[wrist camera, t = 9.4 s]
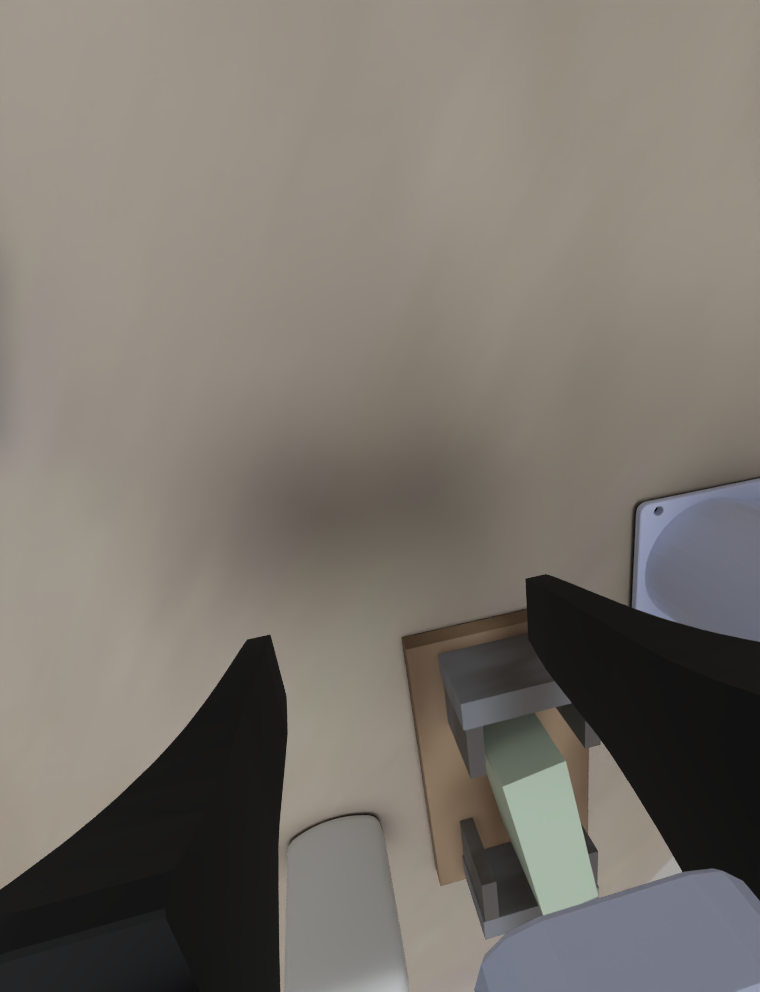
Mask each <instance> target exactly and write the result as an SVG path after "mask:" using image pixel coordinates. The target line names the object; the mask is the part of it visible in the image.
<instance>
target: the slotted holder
mask: <svg viewBox="0 0 760 992" xmlns="http://www.w3.org/2000/svg"><path fill="white" fill-rule="evenodd" d="M402 644H403V650H404V657H405V664H406V671H407V677H408V684H409V691H410V697H411V704H412V711H413V717H414V724H415V731H416V737H417V744H418V751H419V757H420V764H421V771H422V778H423V784H424V791H425V798H426V804H427V811H428V818H429V824H430V831H431V838H432V844H433V851H434V858H435V864H436V870H437V874H438V878H439V882H440V885H441V886H443V885H446V884H450V883H453V882H457V881H460V880H463V879H467V882H468V886H469V889H470V892H471V895H472V898H473V902H474V905H475V908H476V911H477V914H478V917H479V921H480V924H481V927H482V930H483V933H484V936H485V940H486V939H489V938H492V937H496V936H499V935H502V934H505V933H507V932H509V931H511V930H513V929H515V928H517V927H519V926H521V925H523V924H525V923H527V922H529V921H531V920H533V919H535V918H537V917H540V916H543V915H542V912H541V910H540V908H539V905H538V903H537V901H536V898H535V896H534V894H533V891H532V889H531V887H530V884H529V882H528V880H527V878H526V875H525V873H524V871H523V868H522V866H521V864H520V861H519V859H518V857H517V854H516V852H515V850H514V847H513V845H512V843H511V840H510V838H509V836H508V833H507V831H506V829H505V826H504V824H503V821H502V818H501V815H500V812H499V809H498V806H497V803H496V800H495V797H494V794H493V791H492V788H491V785H490V782H489V779H488V776H487V769H486V758H485V746H484V735H483V726H484V725H488V724H492V723H496V722H500V721H504V720H508V719H512V718H516V717H520V716H523V715H527V714H531V713H535V714H536V716H537V717H538V719H539V720H540V722H541V723H542V725H543V727H544V728H545V730H546V731H547V733H548V734H549V736H550V737H551V739H552V740H553V742H554V743H555V745H556V747H557V748H558V750H559V751H560V753H561V754H562V756H563V757H564V759H565V760H566V764H567V768H568V772H569V776H570V780H571V785H572V789H573V793H574V797H575V801H576V805H577V810H578V814H579V818H580V822H581V826H582V830H583V834H584V839H585V843H586V847H587V851H588V855H589V859H590V864H591V868H592V872H593V876H594V880H595V884H596V889H597V893H598V897H596V898H593V899H591V900H589V901H592V900H595V899H598V898H599V887H598V885H597V872H598V851H597V849H596V847H595V846H594V844H593V842H592V840H591V839H590V837H589V835H588V769H589V748H590V747H593V746H597V745H600V738H599V737H598V736H597V734H596V733H595V732H594V731H593V729H592V728H591V727H590V726H589V724H588V723H587V722H586V720H585V719H584V718H583V717H582V715H581V714H580V713H579V712H578V710H577V709H576V708H575V706H574V705H573V704H572V703H571V701H570V700H569V699H568V698H567V696H566V695H565V694H564V693H563V691H562V690H561V689H560V687H559V686H558V685H557V683H556V682H555V681H554V680H553V678H552V677H551V676H550V674H549V673H548V672H547V670H546V669H545V667H544V666H543V664H542V662H541V661H540V659H539V657H538V656H537V654H536V652H535V650H534V649H533V647H532V645H531V643H530V642H529V640H528V622H527V610H522V611H518V612H513V613H509V614H505V615H500V616H496V617H491V618H487V619H483V620H478V621H474V622H469V623H465V624H461V625H456V626H452V627H447V628H443V629H439V630H434V631H430V632H425V633H421V634H417V635H412V636H408V637H403V638H402ZM586 902H588V901H586ZM584 903H585V902H584Z"/></svg>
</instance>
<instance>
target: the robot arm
mask: <svg viewBox="0 0 760 992" xmlns="http://www.w3.org/2000/svg"><path fill="white" fill-rule="evenodd" d="M656 507H658V508H657V511H656V512H655V513H654V510H655V509H656ZM526 598H527V622H528V640H529V642H530V643H531V645H532V647H533V649H534V650H535V652H536V654H537V656H538V657H539V659H540V661H541V662H542V664H543V666H544V667H545V669H546V670H547V672H548V673H549V674H550V676H551V677H552V678H553V680H554V681H555V682H556V683H557V685H558V686H559V687H560V689H561V690H562V691H563V693H564V694H565V695H566V696H567V698H568V699H569V700H570V701H571V703H572V704H573V705H574V706H575V708H576V709H577V710H578V712H579V713H580V714H581V715H582V717H583V718H584V719H585V720H586V722H587V723H588V724H589V726H590V727H591V728H592V729H593V731H594V732H595V733H596V734H597V736H598V737H599V738H600V740H601V741H602V742H603V744H604V745H605V747H606V748H607V749H608V751H609V752H610V754H611V755H612V757H613V758H614V760H615V761H616V763H617V764H618V766H619V767H620V769H621V771H622V772H623V774H624V775H625V777H626V778H627V780H628V781H629V783H630V785H631V786H632V788H633V789H634V791H635V793H636V794H637V796H638V797H639V799H640V801H641V802H642V804H643V806H644V807H645V809H646V811H647V812H648V814H649V815H650V817H651V819H652V820H653V822H654V824H655V825H656V827H657V829H658V830H659V832H660V834H661V835H662V837H663V839H664V841H665V842H666V844H667V846H668V847H669V849H670V851H671V853H672V854H673V856H674V858H675V860H676V861H677V863H678V865H679V866H680V868H681V870H682V873H679V874H676V875H673V876H669V877H666V878H663V879H659V880H656V881H653V882H650V883H647V884H643V885H640V886H637V887H634V888H630V889H627V890H624V891H621V892H617V893H614V894H611V895H608V896H605V897H601V898H598V899H595V900H592V901H588V902H585V903H582V904H579V905H576V906H572V907H569V908H566V909H563V910H559V911H556V912H553V913H550V914H547V915H543V916H540V917H537V918H535V919H533V920H531V921H529V922H527V923H525V924H523V925H521V926H519V927H517V928H515V929H513V930H511V931H509V932H507V933H506V934H505V935H504V936H503V937H502V938H501V939H500V940H499V941H498V942H497V943H496V944H495V945H494V946H493V947H492V948H491V949H490V950H489V951H488V952H487V953H486V954H485V956H484V959H483V961H482V964H481V967H480V971H479V974H478V978H477V982H476V985H475V989H474V990H475V992H760V478H758V479H753V480H749V481H744V482H739V483H734V484H729V485H724V486H719V487H714V488H710V489H705V490H700V491H695V492H690V493H685V494H680V495H676V496H671V497H666V498H661V499H656V500H651V501H646V502H643V503H642V504H640V505H639V507H638V508H637V511H636V527H635V549H634V570H633V592H632V608H631V607H629V606H626V605H623V604H621V603H618V602H615V601H613V600H610V599H608V598H605V597H603V596H600V595H598V594H595V593H593V592H590V591H588V590H586V589H583V588H581V587H578V586H576V585H573V584H571V583H569V582H566V581H564V580H561V579H558V578H556V577H553V576H550V575H547V574H545V575H540V576H536V577H531V578H527V579H526ZM286 745H287V699H286V693H285V689H284V685H283V681H282V678H281V674H280V670H279V666H278V662H277V658H276V655H275V651H274V647H273V643H272V639H271V635H267V636H262V637H257V638H253V639H248V640H247V641H246V642H245V644H244V645H243V646H242V648H241V649H240V651H239V652H238V654H237V656H236V657H235V659H234V660H233V662H232V663H231V665H230V666H229V668H228V669H227V671H226V672H225V674H224V676H223V677H222V678H221V680H220V681H219V683H218V684H217V686H216V687H215V689H214V690H213V691H212V693H211V694H210V696H209V697H208V699H207V700H206V701H205V703H204V704H203V705H202V707H201V708H200V709H199V710H198V712H197V713H196V714H195V716H194V717H193V718H192V720H191V721H190V722H189V723H188V725H187V726H186V727H185V728H184V730H183V731H182V732H181V733H180V734H179V735H178V737H177V738H176V739H175V740H174V741H173V742H172V743H171V744H170V745H169V747H168V748H167V749H166V750H165V751H164V752H163V753H162V754H161V755H160V756H159V757H158V759H157V760H156V761H155V762H154V763H153V764H152V765H151V766H150V767H149V768H148V769H147V770H146V771H144V772H143V773H142V774H141V775H140V776H139V777H138V778H137V779H136V780H135V781H134V782H133V783H132V784H131V785H130V786H129V787H128V788H127V789H126V790H125V791H124V792H123V793H122V794H121V795H120V796H118V797H117V798H116V799H115V800H114V801H113V802H112V803H111V804H110V805H108V806H107V807H106V808H105V809H104V810H103V811H101V812H100V813H99V814H98V815H97V816H96V817H95V818H93V819H92V820H91V821H90V822H89V823H87V824H86V825H85V826H84V827H82V828H81V829H80V830H79V831H78V832H76V833H75V834H74V835H73V836H72V837H70V838H69V839H68V840H66V841H65V842H64V843H63V844H61V845H60V846H59V847H58V848H56V849H55V850H54V851H52V852H51V853H50V854H48V855H47V856H46V857H44V858H43V859H41V860H40V861H39V862H37V863H36V864H35V865H33V866H32V867H31V868H29V869H28V870H27V871H25V872H24V873H23V874H21V875H20V876H19V877H17V878H16V879H15V880H13V881H12V882H11V883H9V884H8V885H6V886H5V887H3V888H2V889H1V890H0V992H280V962H279V896H278V842H279V823H280V812H281V801H282V790H283V779H284V768H285V757H286Z"/></svg>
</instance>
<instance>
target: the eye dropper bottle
mask: <svg viewBox="0 0 760 992" xmlns="http://www.w3.org/2000/svg"><path fill="white" fill-rule="evenodd" d="M284 992H409V981H408V974H407V967H406V961H405V954H404V948H403V942H402V936H401V931H400V925H399V919H398V913H397V907H396V901H395V895H394V890H393V884H392V878H391V872H390V867H389V861H388V855H387V849H386V844H385V839H384V835H383V831H382V828H381V825H380V823H379V821H378V820H377V819H376V818H375V817H373V816H370V815H355V816H347V817H341V818H337V819H333V820H329V821H327V822H324V823H321V824H319V825H317V826H315V827H313V828H311V829H309V830H307V831H305V832H304V833H302V834H301V835H299V836H298V837H296V838H295V839H294V840H293V841H292V842H291V844H290V845H289V847H288V854H287V886H286V928H285V975H284Z"/></svg>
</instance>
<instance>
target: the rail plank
mask: <svg viewBox="0 0 760 992" xmlns="http://www.w3.org/2000/svg"><path fill="white" fill-rule="evenodd" d="M483 735H484V746H485V758H486V769H487V776H488V779H489V782H490V785H491V788H492V791H493V794H494V797H495V800H496V803H497V806H498V809H499V812H500V815H501V818H502V821H503V824H504V826H505V829H506V831H507V833H508V836H509V838H510V840H511V843H512V845H513V847H514V850H515V852H516V854H517V857H518V859H519V861H520V864H521V866H522V868H523V871H524V873H525V875H526V878H527V880H528V882H529V884H530V887H531V889H532V891H533V894H534V896H535V898H536V901H537V903H538V905H539V908H540V910H541V912H542V915H547V914H550V913H553V912H556V911H559V910H563V909H566V908H569V907H572V906H576V905H579V904H582V903H584V902H586V901H589V900H591V899H593V898H596V897H598V893H597V889H596V884H595V880H594V876H593V872H592V868H591V864H590V859H589V855H588V851H587V847H586V843H585V839H584V834H583V830H582V826H581V822H580V818H579V814H578V810H577V805H576V801H575V797H574V793H573V789H572V785H571V780H570V776H569V772H568V768H567V764H566V760H565V759H564V757H563V756H562V754H561V753H560V751H559V750H558V748H557V747H556V745H555V743H554V742H553V740H552V739H551V737H550V736H549V734H548V733H547V731H546V730H545V728H544V727H543V725H542V723H541V722H540V720H539V719H538V717H537V716H536V714H535V713H531V714H527V715H523V716H520V717H516V718H512V719H508V720H504V721H500V722H496V723H492V724H488V725H484V726H483Z"/></svg>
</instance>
